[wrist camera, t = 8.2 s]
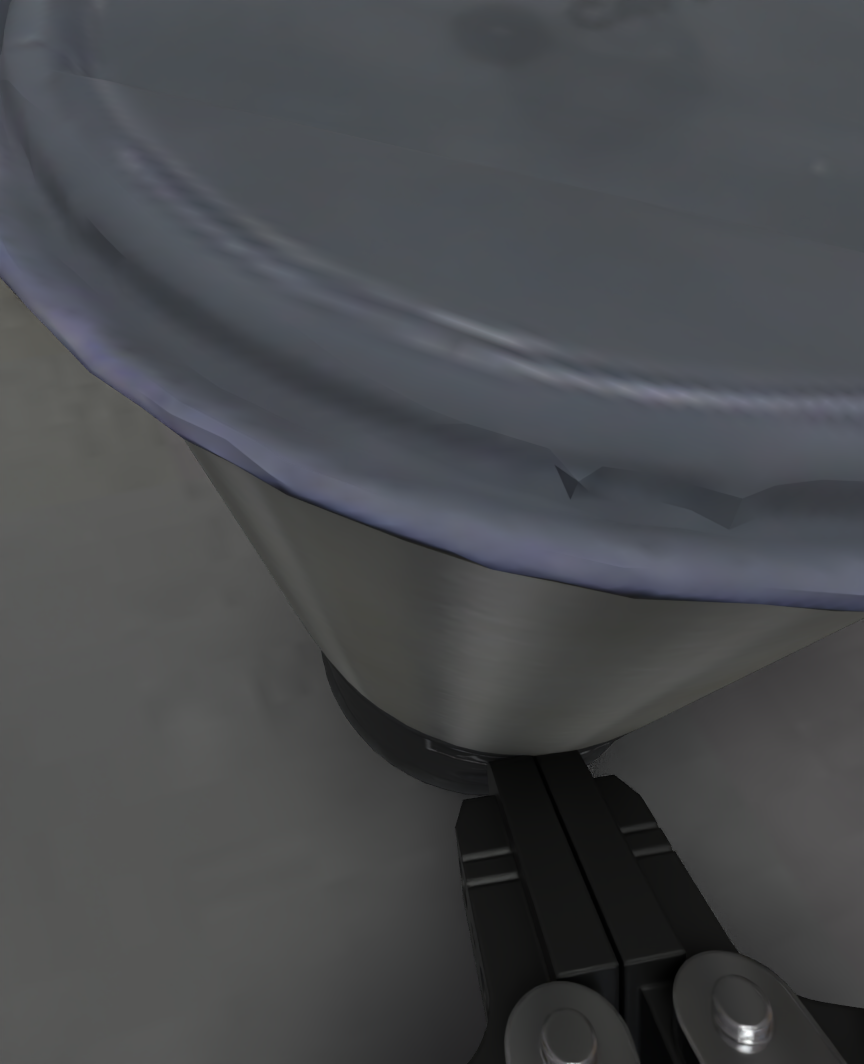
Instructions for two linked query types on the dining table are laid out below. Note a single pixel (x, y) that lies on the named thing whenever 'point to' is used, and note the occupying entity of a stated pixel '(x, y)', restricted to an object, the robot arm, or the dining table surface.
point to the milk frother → (477, 328)
